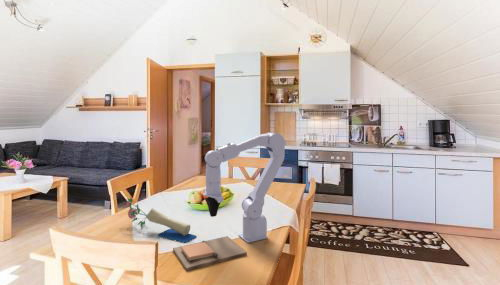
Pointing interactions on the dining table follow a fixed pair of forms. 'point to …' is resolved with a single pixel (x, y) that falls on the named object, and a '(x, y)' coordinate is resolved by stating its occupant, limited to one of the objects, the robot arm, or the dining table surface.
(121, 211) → the dining table surface
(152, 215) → the flower vase
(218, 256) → the board
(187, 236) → the blue flat pad
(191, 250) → the tile
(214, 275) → the dining table surface
